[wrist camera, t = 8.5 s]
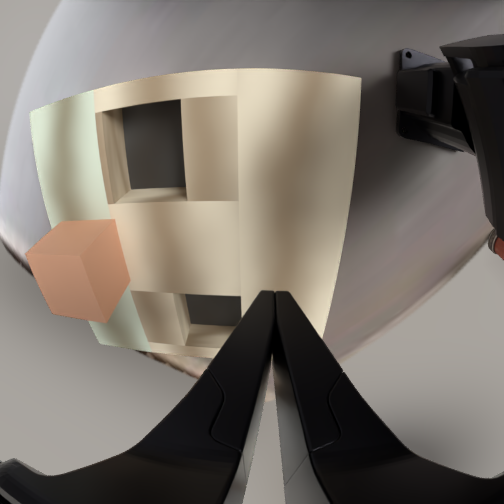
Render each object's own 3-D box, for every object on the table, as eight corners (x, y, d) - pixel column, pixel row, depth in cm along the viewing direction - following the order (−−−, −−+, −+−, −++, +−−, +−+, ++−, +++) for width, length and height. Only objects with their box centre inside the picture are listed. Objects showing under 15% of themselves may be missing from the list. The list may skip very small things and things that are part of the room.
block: (114, 219, 17) (80, 255, 13) (130, 280, 19) (106, 323, 15) (61, 221, 17) (25, 253, 13) (79, 276, 19) (52, 314, 16)
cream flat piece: (345, 80, 14) (361, 78, 12) (312, 335, 26) (316, 359, 23) (54, 106, 15) (29, 112, 12) (110, 323, 26) (99, 343, 24)
